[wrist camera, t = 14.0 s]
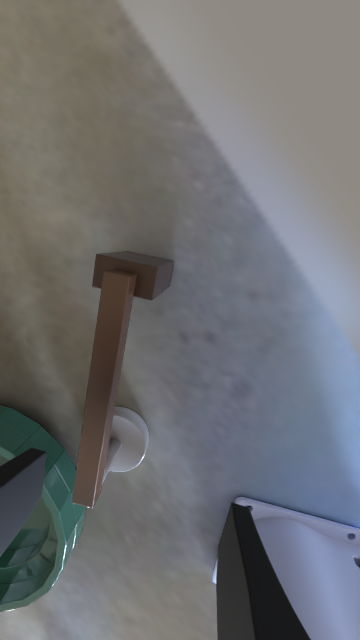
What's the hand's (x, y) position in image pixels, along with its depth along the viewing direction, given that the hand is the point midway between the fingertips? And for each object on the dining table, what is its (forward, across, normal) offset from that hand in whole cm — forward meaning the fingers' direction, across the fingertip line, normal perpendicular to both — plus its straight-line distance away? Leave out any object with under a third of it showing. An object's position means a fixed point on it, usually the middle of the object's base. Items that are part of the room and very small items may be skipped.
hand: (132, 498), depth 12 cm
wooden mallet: (+10, +3, 0) cm, 10 cm away
